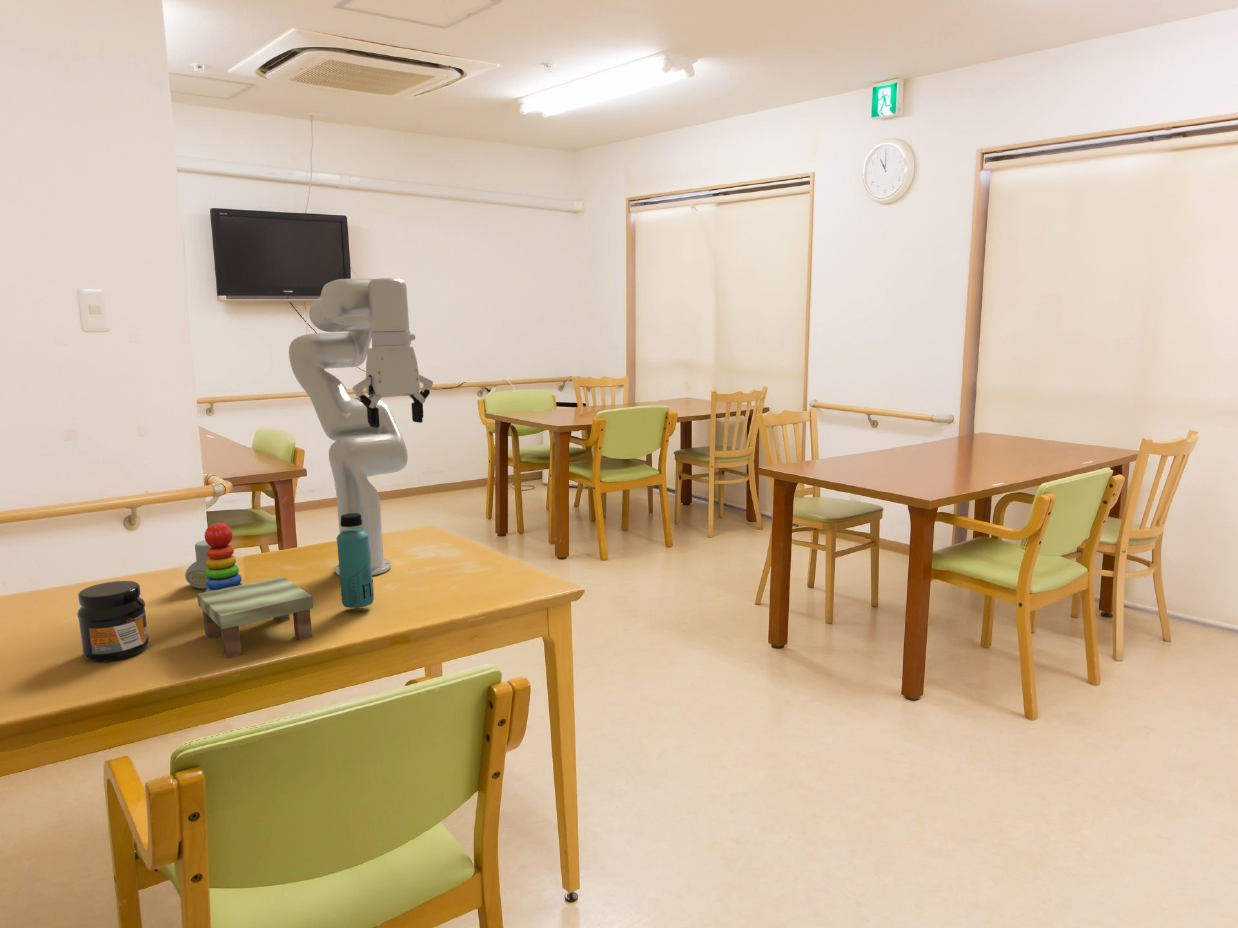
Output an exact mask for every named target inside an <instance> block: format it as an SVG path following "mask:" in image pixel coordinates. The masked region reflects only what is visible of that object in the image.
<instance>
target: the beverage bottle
mask: <svg viewBox="0 0 1238 928" xmlns="http://www.w3.org/2000/svg"><path fill="white" fill-rule="evenodd" d="M361 524H362V519H361V514H359V513H348V514H344V515H342V516H341V526H342V527H354V526H359V525H361ZM336 544H337V557H338V564H339V573H340V575H339V580H338V581H339V588H340V597H341V603H342V605H343V607H345V608H348V609H358V608H359V609H360V608H366V607H369V606H371V605H372V604H373V603H374V600H375V592H374V587H375V586H374V579H373V575H372V571H371V559H370V558H371V557H370V548H369V535H368V533H367V532H365V531H364V530H362V529H347V530H344V531H342V532H341V533H338V535H337V536H336Z"/></svg>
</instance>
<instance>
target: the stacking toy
mask: <svg viewBox="0 0 1238 928" xmlns="http://www.w3.org/2000/svg"><path fill="white" fill-rule="evenodd" d="M232 539H233V531H232V529H231V528H230V526H229V525H227V524H226V523H223V522H222V523H221V522H215V523H213V524H211V525H209V526H208V527H207V528H206V529H205V532H204V540H205V541H206V542H207V544H208V545H209V546H211V548H209V549H208V550H207V556H208V557H209V559H208V560H207V561H206V566H207V567H208V569H207V570H206V575H207V577H209V578H208V579H207V580H206V585H207V586H208V588H207V590H205V592H210V591H215V590H220V589H225V588H230V587H234V586H239V585H244V584H243V583H242V580H243V579H242V576H241V574H240V573H238V571H239V572H240V567H239V565H238V564H237V565H238V566H237V565H235V563H237V559H236V557H235V555H234V553H235V548H234V547H233V546H232V545H230V543H231V542H232ZM238 567H239V568H238Z"/></svg>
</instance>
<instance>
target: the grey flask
mask: <svg viewBox="0 0 1238 928" xmlns="http://www.w3.org/2000/svg"><path fill="white" fill-rule="evenodd" d="M209 548H211V546H209V545H208V544H207V542H206V541H205V539H204V540H199V541H198V542H196V543H195V544H194V549H195V550H194V551H195V562H194V561H193V562H192V563H191V564H190V565H189V566H188V567H187V569H186V570H185V572H184V573H185V574H184V576H185V580H186V582H187V583H188V584H190V585H191V586H192V587H195V588H198V589H201V590H204V589H207V588H208V586H207V585H206V580H207V579H208V578H209V577H207V575H206V570H207V569H208V567H207V566H206V561H207V560H208V559H209V557H208V556H207V550H208V549H209ZM235 565H237V566H238V568H239V569H240V567H239V565H238V563H237V562H236V563H235ZM238 574H240V570H239V571H238Z"/></svg>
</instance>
